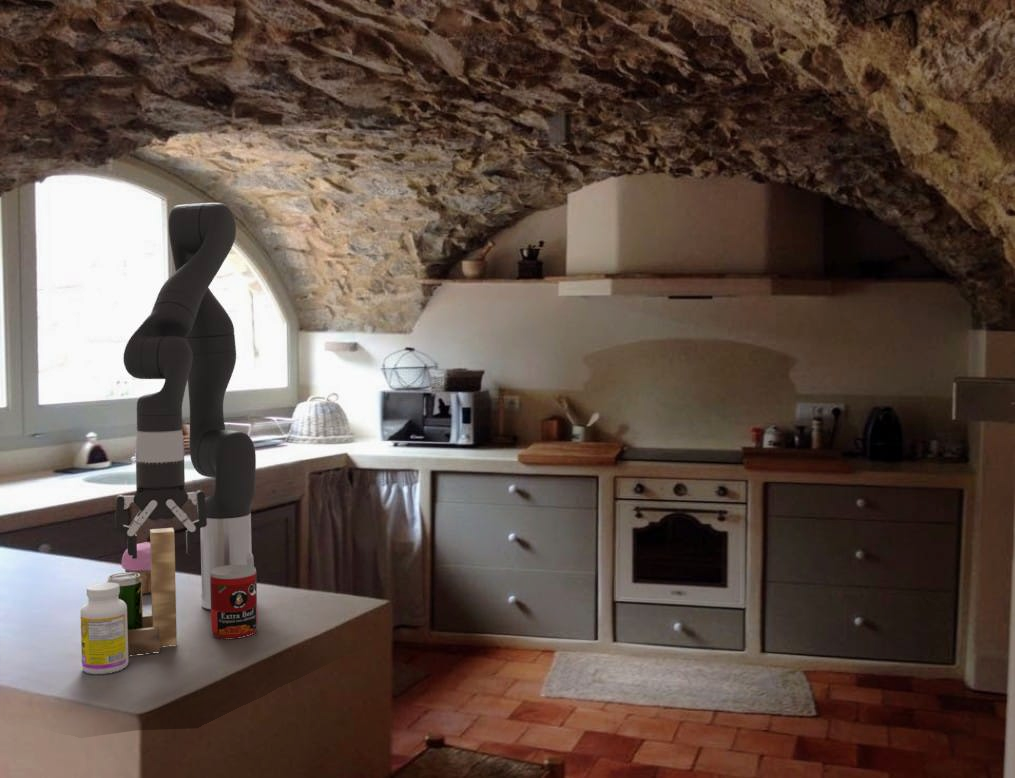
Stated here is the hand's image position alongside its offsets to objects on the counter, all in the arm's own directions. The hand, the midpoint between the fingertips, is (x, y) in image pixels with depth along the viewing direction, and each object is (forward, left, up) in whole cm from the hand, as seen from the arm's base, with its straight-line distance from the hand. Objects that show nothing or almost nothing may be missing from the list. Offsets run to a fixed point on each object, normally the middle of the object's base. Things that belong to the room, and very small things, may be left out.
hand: (161, 555), depth 164 cm
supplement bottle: (+9, +9, -15) cm, 20 cm away
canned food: (-12, -2, -15) cm, 19 cm away
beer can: (+6, 0, -15) cm, 16 cm away
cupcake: (+1, -37, -15) cm, 40 cm away
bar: (0, 0, -15) cm, 15 cm away
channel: (+6, 0, -15) cm, 16 cm away
